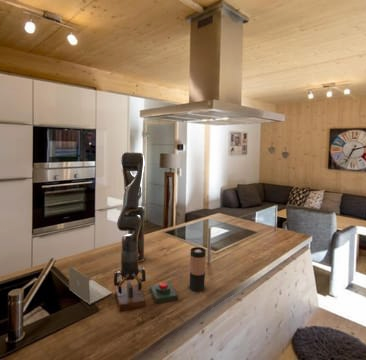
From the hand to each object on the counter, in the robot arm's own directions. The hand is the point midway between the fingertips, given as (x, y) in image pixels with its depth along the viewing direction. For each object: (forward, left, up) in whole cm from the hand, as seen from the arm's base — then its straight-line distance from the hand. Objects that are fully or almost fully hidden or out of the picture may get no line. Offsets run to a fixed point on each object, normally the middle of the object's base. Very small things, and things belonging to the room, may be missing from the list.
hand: (129, 291), depth 129 cm
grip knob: (0, 0, -1) cm, 1 cm away
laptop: (-12, -17, -5) cm, 21 cm away
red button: (0, +16, -1) cm, 16 cm away
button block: (0, +16, -4) cm, 17 cm away
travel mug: (-1, +34, -5) cm, 34 cm away
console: (0, 0, -4) cm, 4 cm away
